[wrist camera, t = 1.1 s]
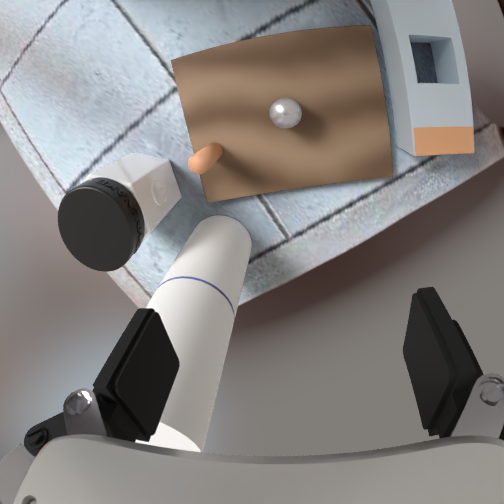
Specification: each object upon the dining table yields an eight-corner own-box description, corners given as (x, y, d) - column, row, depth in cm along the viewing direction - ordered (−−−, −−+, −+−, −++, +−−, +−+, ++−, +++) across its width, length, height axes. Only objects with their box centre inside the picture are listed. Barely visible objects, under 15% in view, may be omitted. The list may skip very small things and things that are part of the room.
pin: (204, 144, 30) (186, 156, 25) (221, 140, 30) (206, 151, 25) (208, 160, 31) (191, 176, 26) (225, 157, 31) (211, 171, 26)
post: (268, 100, 28) (266, 100, 25) (297, 95, 27) (298, 95, 24) (274, 127, 29) (273, 130, 26) (302, 122, 28) (304, 125, 26)
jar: (190, 213, 35) (150, 268, 25) (133, 228, 37) (83, 282, 27) (165, 140, 32) (108, 167, 21) (107, 162, 33) (42, 197, 23)
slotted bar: (365, -15, 21) (378, -31, 16) (425, -11, 19) (445, -23, 15) (396, 146, 29) (414, 156, 24) (452, 143, 28) (475, 153, 23)
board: (174, 61, 27) (170, 60, 26) (368, 27, 23) (370, 25, 22) (209, 200, 34) (207, 203, 33) (390, 174, 30) (393, 176, 30)
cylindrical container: (264, 249, 37) (227, 458, 15) (219, 279, 39) (156, 467, 18) (223, 203, 34) (124, 394, 13) (180, 238, 37) (72, 415, 15)
